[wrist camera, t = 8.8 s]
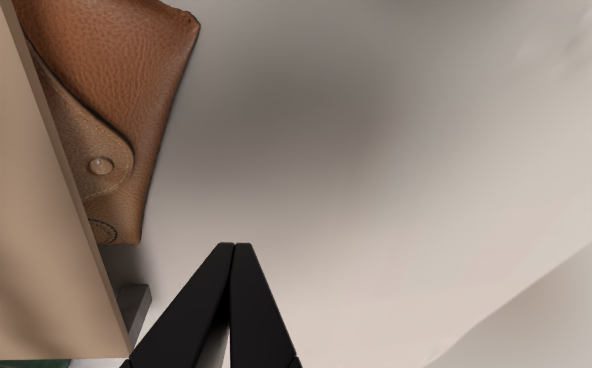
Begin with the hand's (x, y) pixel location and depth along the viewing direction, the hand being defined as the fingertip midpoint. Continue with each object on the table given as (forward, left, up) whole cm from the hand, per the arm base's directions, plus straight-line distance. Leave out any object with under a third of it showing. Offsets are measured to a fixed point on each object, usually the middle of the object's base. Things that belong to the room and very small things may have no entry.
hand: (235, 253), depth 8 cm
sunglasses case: (+9, +3, -13) cm, 16 cm away
